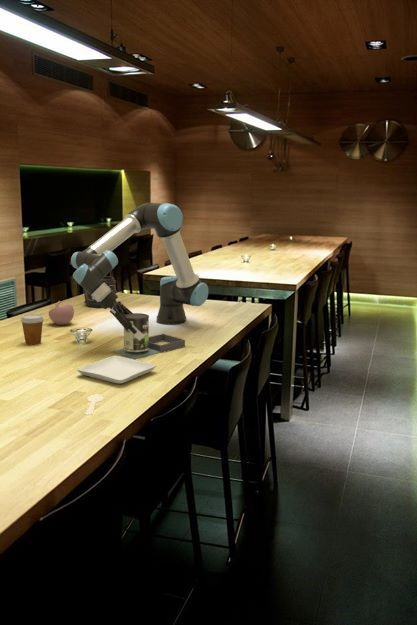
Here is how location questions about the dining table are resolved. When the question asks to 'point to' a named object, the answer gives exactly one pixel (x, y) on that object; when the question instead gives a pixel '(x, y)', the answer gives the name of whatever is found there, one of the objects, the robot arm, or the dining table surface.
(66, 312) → the pink apple
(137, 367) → the salad plate
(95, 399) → the spoon
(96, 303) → the coffee canister
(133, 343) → the coffee can
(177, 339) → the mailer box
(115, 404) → the dining table surface
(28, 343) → the disposable coffee cup
